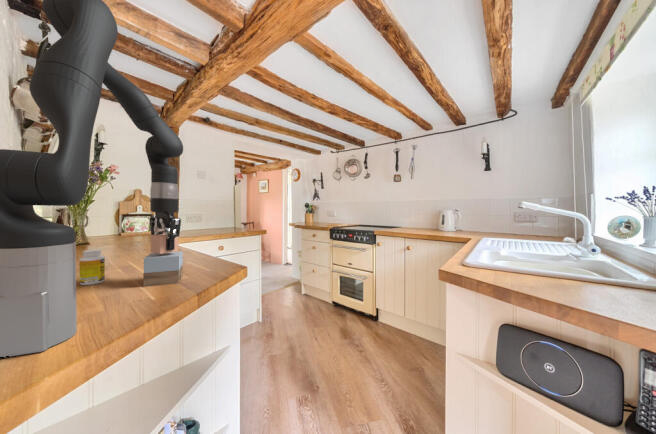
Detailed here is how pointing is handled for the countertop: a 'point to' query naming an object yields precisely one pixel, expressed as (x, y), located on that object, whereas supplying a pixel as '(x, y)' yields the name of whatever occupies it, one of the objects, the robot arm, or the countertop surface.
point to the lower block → (162, 277)
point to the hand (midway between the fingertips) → (164, 249)
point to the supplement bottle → (91, 267)
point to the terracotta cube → (162, 244)
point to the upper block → (163, 262)
